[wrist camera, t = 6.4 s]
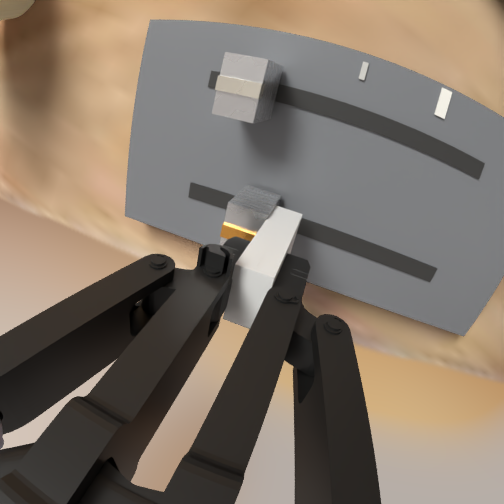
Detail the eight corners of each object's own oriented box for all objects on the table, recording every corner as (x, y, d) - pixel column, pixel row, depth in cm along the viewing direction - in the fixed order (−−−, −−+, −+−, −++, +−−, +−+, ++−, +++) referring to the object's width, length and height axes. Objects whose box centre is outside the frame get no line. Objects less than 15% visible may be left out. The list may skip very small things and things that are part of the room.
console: (541, 149, 13) (557, 155, 11) (458, 319, 20) (464, 337, 18) (166, 24, 17) (149, 19, 15) (140, 206, 24) (124, 216, 22)
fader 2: (282, 195, 18) (267, 216, 15) (269, 241, 19) (252, 268, 16) (247, 184, 18) (226, 203, 15) (237, 230, 20) (216, 255, 17)
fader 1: (283, 66, 14) (268, 59, 12) (270, 119, 16) (252, 123, 13) (246, 59, 15) (223, 51, 12) (235, 110, 16) (209, 114, 13)
